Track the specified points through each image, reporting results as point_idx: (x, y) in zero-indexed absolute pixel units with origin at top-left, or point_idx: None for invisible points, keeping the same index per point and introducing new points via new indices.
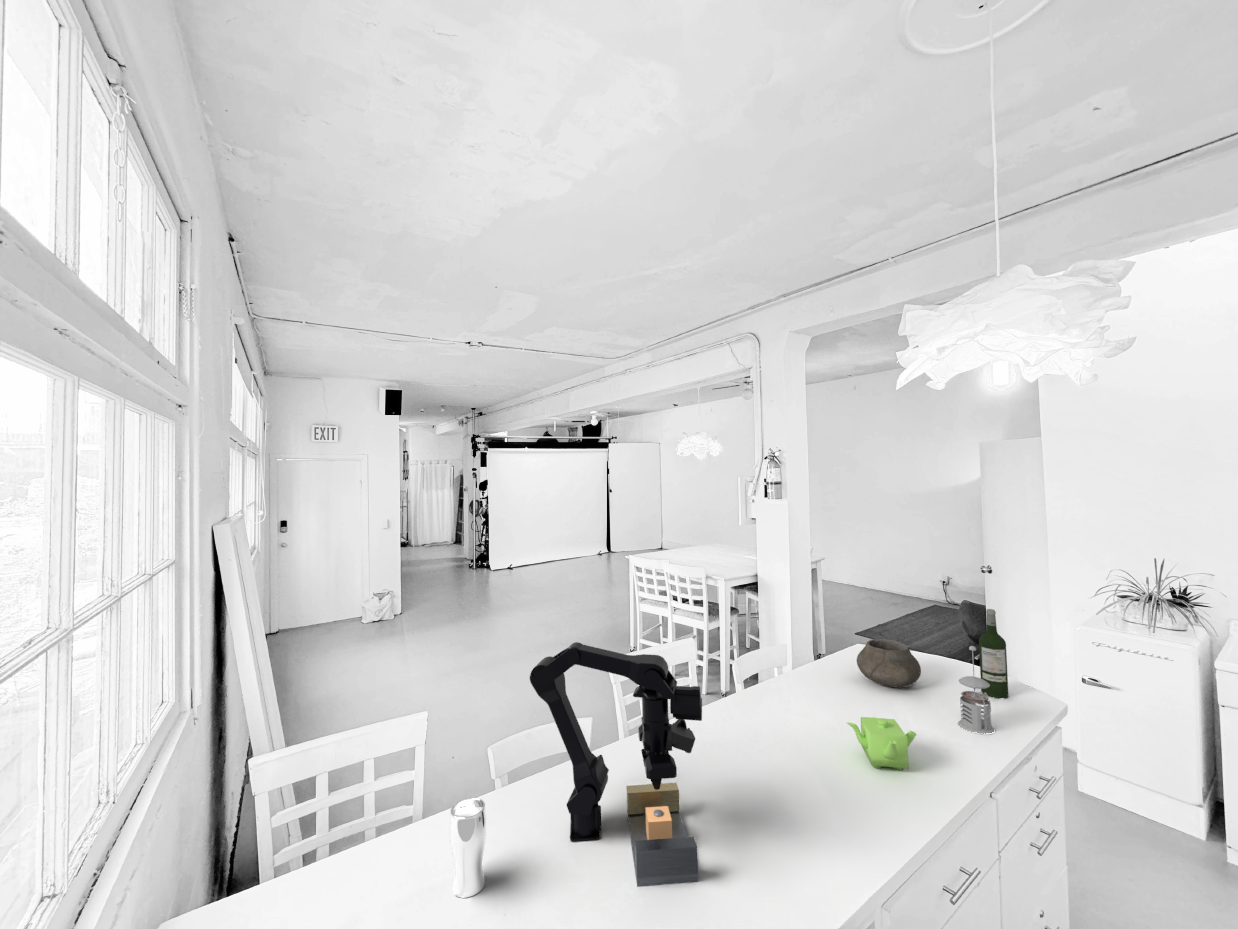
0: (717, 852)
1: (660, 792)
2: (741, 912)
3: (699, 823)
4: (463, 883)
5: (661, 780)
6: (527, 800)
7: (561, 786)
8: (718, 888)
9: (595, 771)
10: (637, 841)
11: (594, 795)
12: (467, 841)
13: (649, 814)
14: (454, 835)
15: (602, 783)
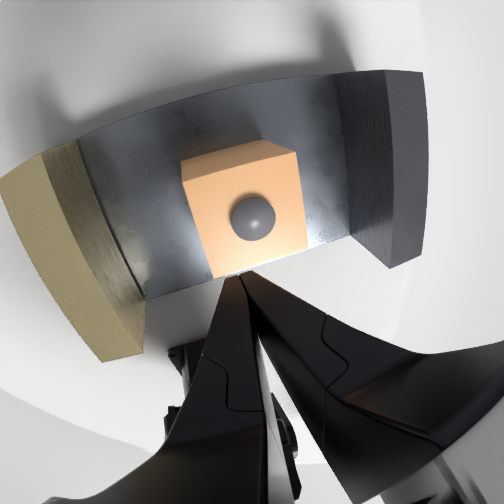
0: (240, 5)
1: (77, 238)
2: (412, 14)
3: (97, 65)
4: None
5: (298, 298)
6: (155, 436)
7: (94, 415)
8: (369, 32)
9: (300, 489)
10: (392, 261)
11: (293, 431)
12: None
13: (259, 254)
14: None
15: (283, 451)
